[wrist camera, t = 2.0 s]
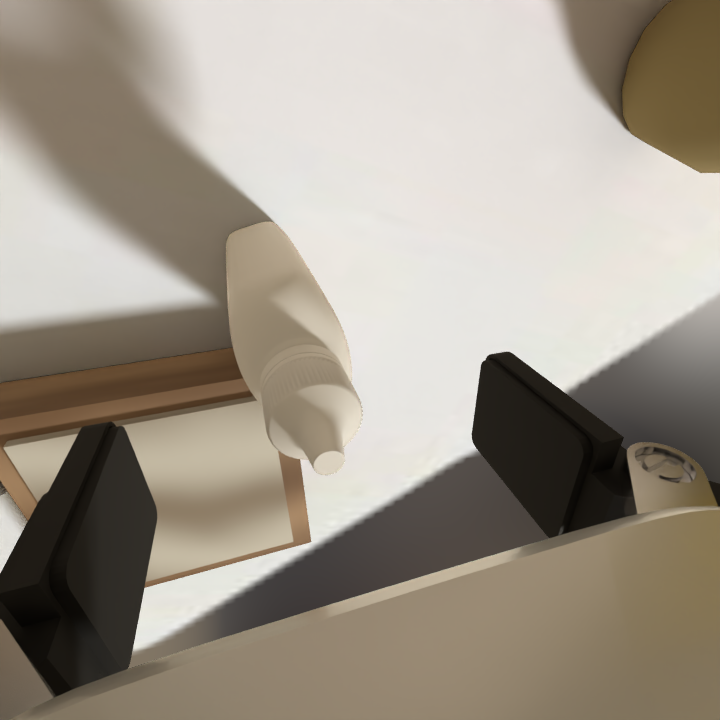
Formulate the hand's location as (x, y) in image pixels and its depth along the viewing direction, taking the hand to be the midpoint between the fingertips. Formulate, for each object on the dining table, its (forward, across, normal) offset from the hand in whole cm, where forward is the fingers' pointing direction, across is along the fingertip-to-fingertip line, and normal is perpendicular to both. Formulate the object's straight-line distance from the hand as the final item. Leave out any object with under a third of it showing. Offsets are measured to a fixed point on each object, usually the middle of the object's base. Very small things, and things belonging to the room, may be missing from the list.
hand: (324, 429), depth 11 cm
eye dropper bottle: (+10, 0, -1) cm, 10 cm away
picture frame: (+10, +6, +8) cm, 14 cm away
